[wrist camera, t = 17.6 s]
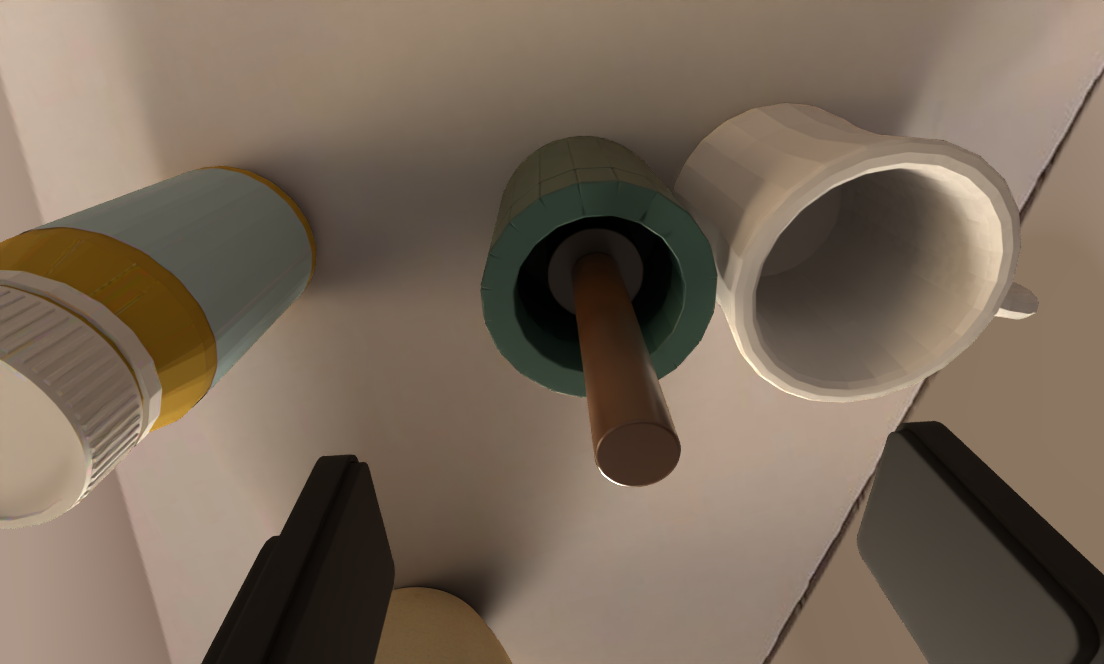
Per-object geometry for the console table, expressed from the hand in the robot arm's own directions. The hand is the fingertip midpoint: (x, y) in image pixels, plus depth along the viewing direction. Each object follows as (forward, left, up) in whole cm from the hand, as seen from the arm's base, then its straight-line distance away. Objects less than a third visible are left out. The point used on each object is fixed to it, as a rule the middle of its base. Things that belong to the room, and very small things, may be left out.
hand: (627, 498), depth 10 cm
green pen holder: (0, 0, -18) cm, 18 cm away
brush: (0, 0, -17) cm, 17 cm away
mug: (+10, 0, -18) cm, 21 cm away
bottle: (-16, 0, -18) cm, 24 cm away
